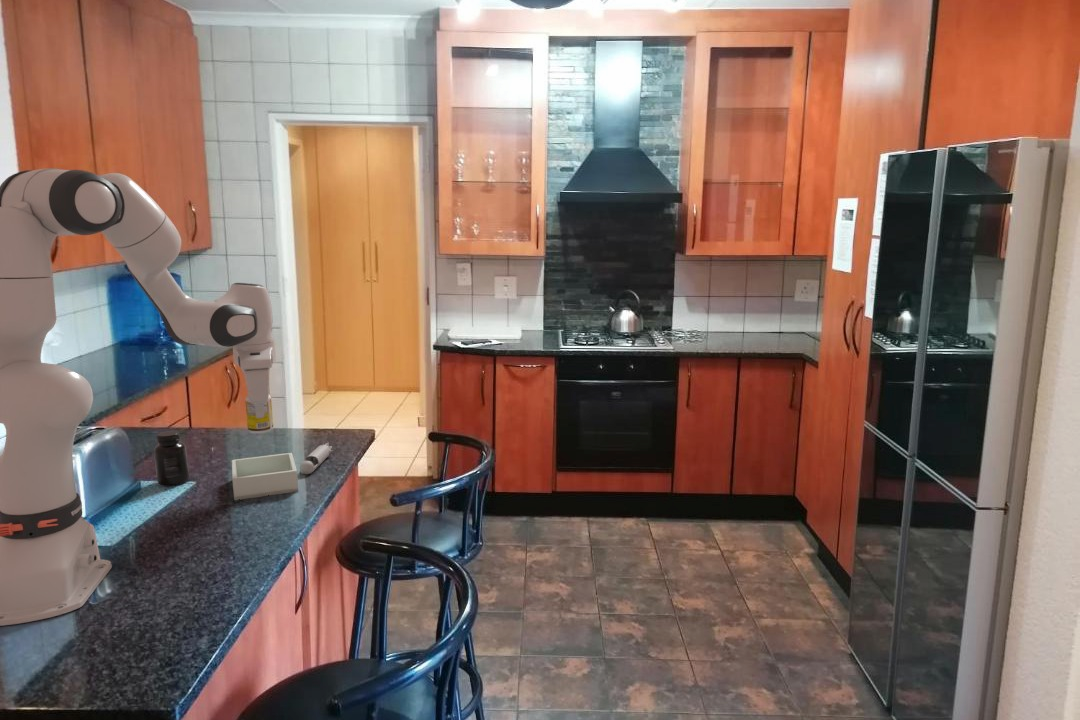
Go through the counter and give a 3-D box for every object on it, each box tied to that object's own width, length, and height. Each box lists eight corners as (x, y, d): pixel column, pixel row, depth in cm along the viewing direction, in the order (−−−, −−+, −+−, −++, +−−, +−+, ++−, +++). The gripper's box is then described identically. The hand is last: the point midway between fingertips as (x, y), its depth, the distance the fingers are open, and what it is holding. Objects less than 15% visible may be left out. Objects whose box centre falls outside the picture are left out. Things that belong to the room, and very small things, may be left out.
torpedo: (315, 476, 178) (313, 451, 177) (295, 476, 178) (294, 451, 177) (337, 452, 196) (336, 429, 194) (320, 452, 196) (318, 428, 195)
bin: (298, 491, 168) (296, 470, 167) (234, 500, 163) (232, 479, 162) (293, 472, 181) (292, 452, 180) (233, 479, 176) (231, 459, 175)
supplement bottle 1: (195, 477, 177) (190, 429, 175) (179, 487, 171) (173, 438, 168) (168, 476, 178) (163, 428, 176) (151, 486, 171) (145, 437, 169)
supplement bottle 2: (259, 425, 173) (255, 383, 171) (278, 428, 171) (275, 385, 169) (242, 432, 168) (238, 389, 165) (262, 435, 166) (258, 391, 164)
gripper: (238, 347, 174) (243, 403, 177) (240, 364, 155) (245, 426, 158) (267, 345, 176) (271, 400, 179) (271, 361, 158) (276, 423, 160)
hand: (259, 413), depth 168 cm, fingers closed on supplement bottle 2, 6 cm apart
